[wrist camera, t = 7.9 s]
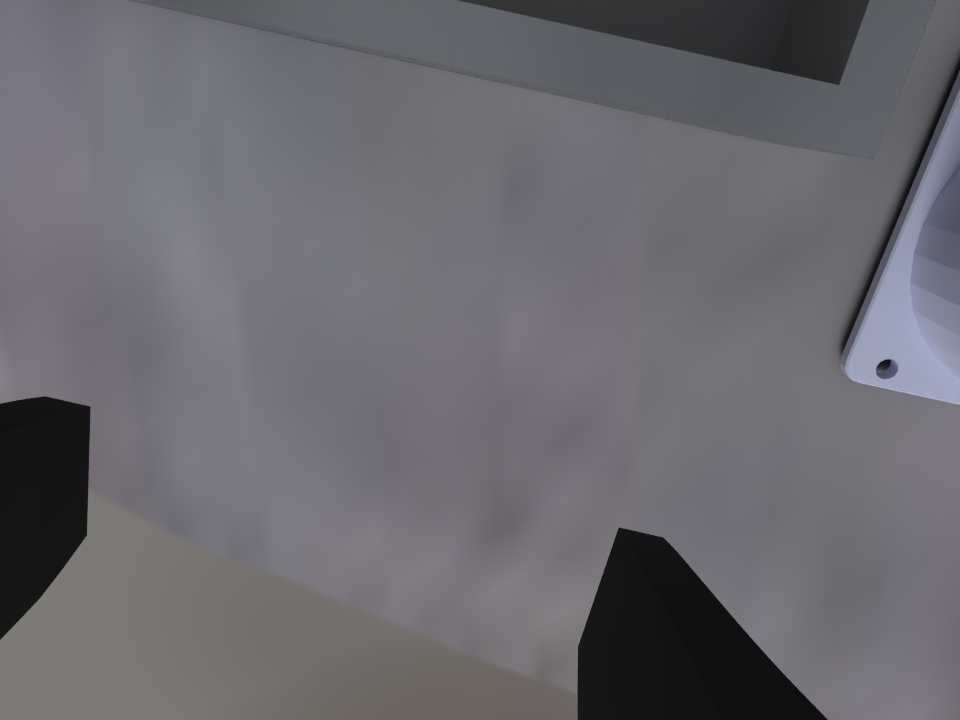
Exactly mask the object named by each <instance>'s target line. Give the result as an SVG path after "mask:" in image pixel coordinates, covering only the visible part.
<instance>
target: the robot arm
mask: <svg viewBox="0 0 960 720" xmlns="http://www.w3.org/2000/svg"><path fill="white" fill-rule="evenodd" d="M885 359H890V360H891V363H890V367H889V368H888V369H887V370H886V371H885V372H883V373H876V367H877V365H878V364H879V363H880V362H881V361H883V360H885ZM840 365H841V369H842V371H843V372H844V373H845V374H846V375H847V376H848V377H849V378H850V379H851V380H854V381H856V382H858V383H863V384H867V385H872V386H876V387H881V388H885V389H890V390H894V391H899V392H904V393H908V394H913V395H917V396H922V397H926V398H931V399H935V400H940V401H945V402H949V403H954V404H958V405H960V71H959V73H958V76H957V78H956V81H955V83H954V85H953V88H952V90H951V93H950V95H949V97H948V100H947V102H946V105H945V107H944V110H943V112H942V114H941V117H940V119H939V122H938V124H937V126H936V129H935V131H934V134H933V136H932V139H931V141H930V143H929V146H928V148H927V151H926V153H925V155H924V158H923V160H922V163H921V165H920V167H919V170H918V172H917V175H916V177H915V180H914V182H913V184H912V187H911V189H910V192H909V194H908V196H907V199H906V201H905V204H904V206H903V209H902V211H901V213H900V216H899V218H898V221H897V223H896V225H895V228H894V230H893V233H892V235H891V238H890V240H889V242H888V245H887V247H886V250H885V252H884V254H883V257H882V259H881V262H880V264H879V266H878V269H877V271H876V274H875V276H874V279H873V281H872V283H871V286H870V288H869V291H868V293H867V295H866V298H865V300H864V303H863V305H862V308H861V310H860V312H859V315H858V317H857V320H856V322H855V324H854V327H853V329H852V332H851V334H850V337H849V339H848V341H847V344H846V346H845V349H844V351H843V353H842V356H841V361H840ZM89 438H90V407H89V406H85V405H81V404H76V403H72V402H68V401H63V400H59V399H54V398H50V397H46V396H45V397H37V398H30V399H23V400H17V401H12V402H7V403H2V404H0V639H1V638H2V637H3V636H4V635H5V634H6V633H7V632H8V631H9V630H10V629H11V628H12V627H13V626H14V625H15V624H16V623H17V622H18V621H19V619H20V618H22V617H23V616H24V614H25V613H26V612H27V611H28V610H29V609H30V608H31V607H32V606H33V605H34V604H35V603H36V602H37V601H38V600H39V598H40V597H41V596H42V595H43V593H44V592H45V591H46V589H47V588H48V587H49V586H50V584H51V583H52V582H53V581H54V579H55V578H56V577H57V575H58V574H59V573H60V572H61V570H62V569H63V568H64V566H65V564H66V563H67V562H68V561H69V559H70V558H71V556H72V555H73V554H74V552H75V551H76V550H77V548H78V547H79V545H80V544H81V543H82V541H83V540H84V538H85V537H86V536H87V508H88V473H89ZM578 720H827V719H826V717H825V716H824V715H823V714H822V713H821V712H820V711H819V710H818V709H817V708H816V707H815V706H814V705H813V704H812V703H811V702H810V701H809V700H808V699H807V698H806V697H805V696H804V695H803V694H802V693H801V692H800V691H799V690H798V689H797V688H796V687H795V686H794V684H793V683H792V682H791V681H790V680H789V679H788V678H787V677H786V676H785V675H784V674H783V673H782V672H781V671H780V670H779V668H778V667H777V666H776V665H775V664H774V663H773V662H772V661H771V660H770V659H769V658H768V657H767V655H766V654H765V653H764V652H763V651H762V650H761V649H760V648H759V647H758V645H757V644H756V643H755V642H754V641H753V640H752V639H751V638H750V636H749V635H748V634H747V633H746V632H745V631H744V630H743V628H742V627H741V626H740V625H739V624H738V623H737V622H736V620H735V619H734V618H733V617H732V616H731V615H730V613H729V612H728V611H727V610H726V609H725V608H724V606H723V605H722V604H721V603H720V602H719V601H718V599H717V598H716V597H715V596H714V595H713V593H712V592H711V591H710V590H709V589H708V588H707V586H706V585H705V584H704V583H703V582H702V580H701V579H700V578H699V577H698V576H697V575H696V573H695V572H694V571H693V570H692V569H691V567H690V566H689V565H688V564H687V563H686V562H685V560H684V559H683V558H682V557H681V556H680V555H679V554H678V552H677V551H676V550H675V549H674V548H673V547H672V546H671V545H670V544H669V543H668V542H667V541H666V540H665V539H664V538H663V537H658V536H654V535H650V534H645V533H641V532H637V531H632V530H628V529H623V528H619V529H618V532H617V534H616V537H615V540H614V543H613V546H612V549H611V552H610V555H609V558H608V561H607V564H606V567H605V570H604V573H603V576H602V578H601V581H600V584H599V587H598V590H597V593H596V596H595V599H594V602H593V605H592V608H591V611H590V614H589V617H588V619H587V622H586V625H585V628H584V631H583V634H582V637H581V640H580V643H579V646H578Z"/></svg>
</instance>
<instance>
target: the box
mask: <svg viewBox="0 0 960 720" xmlns="http://www.w3.org/2000/svg"><path fill="white" fill-rule="evenodd" d="M131 1H136V2H140V3H145V4H149V5H154V6H158V7H163V8H167V9H172V10H176V11H181V12H185V13H190V14H194V15H199V16H203V17H208V18H212V19H217V20H221V21H226V22H231V23H235V24H240V25H244V26H249V27H253V28H258V29H262V30H267V31H271V32H276V33H280V34H285V35H289V36H294V37H298V38H303V39H307V40H312V41H316V42H321V43H325V44H330V45H334V46H339V47H343V48H348V49H352V50H357V51H361V52H366V53H370V54H375V55H379V56H384V57H388V58H393V59H397V60H402V61H406V62H411V63H415V64H420V65H424V66H429V67H433V68H438V69H443V70H447V71H452V72H456V73H461V74H465V75H470V76H474V77H479V78H483V79H488V80H492V81H497V82H501V83H506V84H510V85H515V86H519V87H524V88H528V89H533V90H537V91H542V92H546V93H551V94H555V95H560V96H564V97H569V98H573V99H578V100H582V101H587V102H591V103H596V104H600V105H605V106H609V107H614V108H618V109H623V110H627V111H632V112H636V113H641V114H645V115H650V116H655V117H659V118H664V119H668V120H673V121H677V122H682V123H686V124H691V125H695V126H700V127H704V128H709V129H713V130H718V131H722V132H727V133H731V134H736V135H740V136H745V137H749V138H754V139H758V140H763V141H767V142H772V143H776V144H781V145H786V146H792V147H798V148H805V149H811V150H817V151H824V152H830V153H836V154H843V155H849V156H855V157H862V158H868V159H874V158H875V155H876V153H877V150H878V147H879V145H880V142H881V140H882V137H883V135H884V132H885V130H886V127H887V124H888V122H889V119H890V117H891V114H892V112H893V109H894V106H895V104H896V101H897V99H898V96H899V94H900V91H901V89H902V86H903V83H904V81H905V78H906V76H907V73H908V71H909V68H910V65H911V63H912V60H913V58H914V55H915V53H916V50H917V48H918V45H919V42H920V40H921V37H922V35H923V32H924V30H925V27H926V24H927V22H928V19H929V17H930V14H931V12H932V9H933V7H934V4H935V1H936V0H131Z"/></svg>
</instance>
